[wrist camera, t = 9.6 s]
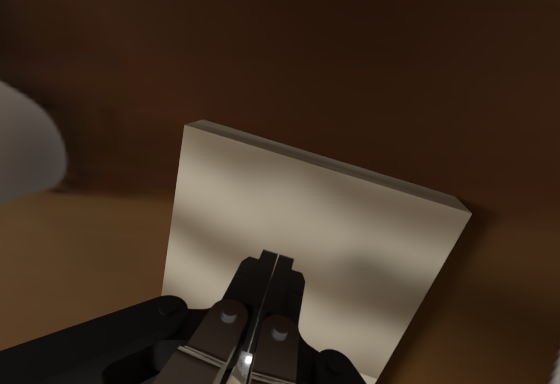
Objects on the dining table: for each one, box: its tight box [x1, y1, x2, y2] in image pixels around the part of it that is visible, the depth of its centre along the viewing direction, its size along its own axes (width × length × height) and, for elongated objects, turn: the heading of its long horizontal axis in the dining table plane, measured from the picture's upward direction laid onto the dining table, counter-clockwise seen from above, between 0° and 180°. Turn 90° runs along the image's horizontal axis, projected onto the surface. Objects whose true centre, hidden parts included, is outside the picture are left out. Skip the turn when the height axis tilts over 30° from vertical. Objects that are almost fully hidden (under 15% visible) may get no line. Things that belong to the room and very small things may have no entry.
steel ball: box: [237, 344, 253, 379], centre depth 23 cm, size 3×3×3 cm
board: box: [162, 120, 472, 384], centre depth 21 cm, size 22×16×2 cm
